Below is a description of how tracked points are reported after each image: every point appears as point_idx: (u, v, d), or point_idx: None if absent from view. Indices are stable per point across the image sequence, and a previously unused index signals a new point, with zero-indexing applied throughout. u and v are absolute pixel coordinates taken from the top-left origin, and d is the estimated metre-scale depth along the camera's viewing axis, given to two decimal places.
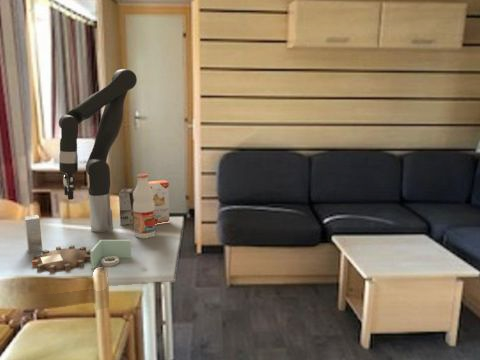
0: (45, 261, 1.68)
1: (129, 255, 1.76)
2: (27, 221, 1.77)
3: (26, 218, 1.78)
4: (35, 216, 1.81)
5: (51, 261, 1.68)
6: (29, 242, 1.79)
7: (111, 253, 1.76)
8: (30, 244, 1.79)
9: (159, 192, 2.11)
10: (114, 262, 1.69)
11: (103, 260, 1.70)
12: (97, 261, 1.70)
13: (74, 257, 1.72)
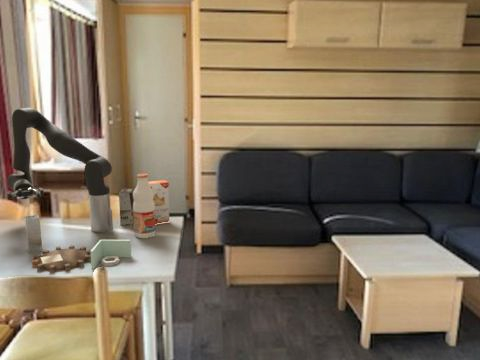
0: (45, 261, 1.68)
1: (129, 255, 1.76)
2: (27, 221, 1.77)
3: (26, 218, 1.78)
4: (35, 216, 1.81)
5: (51, 261, 1.68)
6: (29, 242, 1.79)
7: (111, 253, 1.76)
8: (30, 244, 1.79)
9: (159, 192, 2.11)
10: (114, 262, 1.69)
11: (103, 260, 1.70)
12: (97, 261, 1.70)
13: (74, 257, 1.72)
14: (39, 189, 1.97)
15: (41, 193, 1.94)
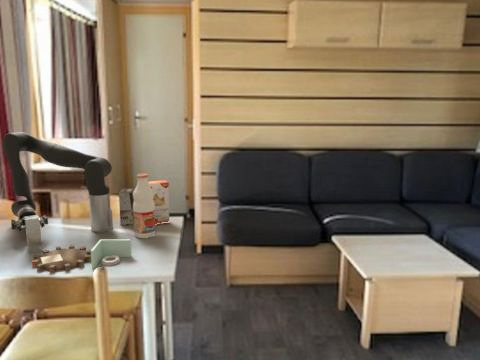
0: (45, 261, 1.68)
1: (129, 254, 1.77)
2: (27, 221, 1.77)
3: (26, 218, 1.78)
4: (35, 216, 1.81)
5: (51, 261, 1.68)
6: (29, 242, 1.79)
7: (112, 252, 1.77)
8: (30, 244, 1.79)
9: (159, 192, 2.11)
10: (114, 261, 1.70)
11: (103, 259, 1.70)
12: (97, 260, 1.71)
13: (74, 257, 1.72)
14: (43, 217, 1.96)
15: (45, 221, 1.93)
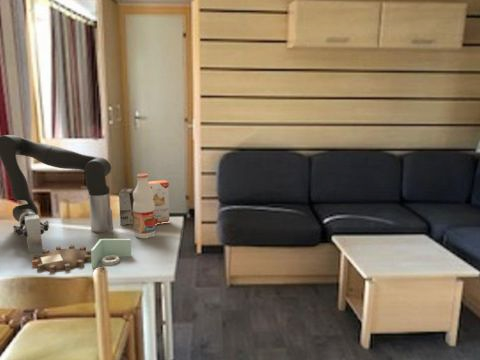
0: (45, 261, 1.68)
1: (129, 254, 1.77)
2: (27, 221, 1.77)
3: (26, 218, 1.78)
4: (35, 216, 1.81)
5: (51, 261, 1.68)
6: (29, 242, 1.79)
7: (112, 252, 1.77)
8: (30, 243, 1.79)
9: (159, 192, 2.11)
10: (114, 261, 1.70)
11: (103, 259, 1.71)
12: (97, 260, 1.71)
13: (74, 257, 1.72)
14: (44, 223, 1.88)
15: (44, 228, 1.85)
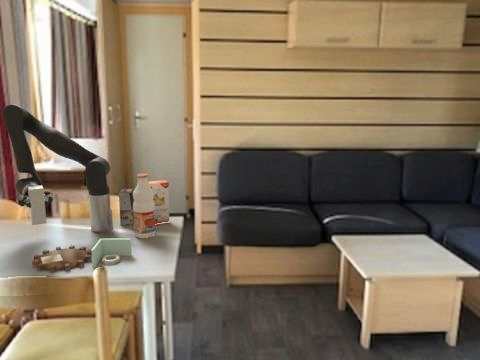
0: (45, 261, 1.68)
1: (129, 253, 1.78)
2: (30, 191, 1.68)
3: (29, 188, 1.69)
4: (39, 186, 1.72)
5: (51, 261, 1.68)
6: (32, 213, 1.70)
7: (112, 252, 1.77)
8: (33, 215, 1.70)
9: (159, 192, 2.11)
10: (115, 260, 1.70)
11: (104, 258, 1.71)
12: (98, 260, 1.71)
13: (74, 257, 1.72)
14: (49, 195, 1.79)
15: (49, 200, 1.76)
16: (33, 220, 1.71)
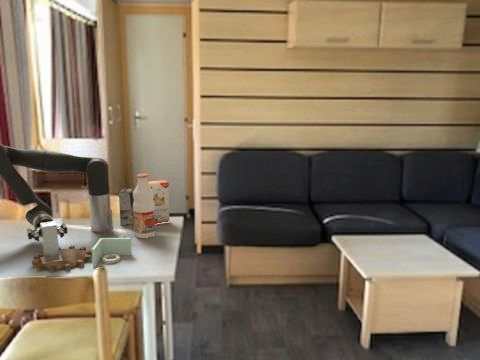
0: None
1: (129, 253, 1.79)
2: (44, 228, 1.64)
3: (42, 225, 1.66)
4: (52, 222, 1.68)
5: (51, 261, 1.68)
6: (46, 251, 1.66)
7: (112, 251, 1.78)
8: (46, 252, 1.67)
9: (159, 192, 2.11)
10: (115, 260, 1.71)
11: (104, 258, 1.72)
12: (98, 259, 1.72)
13: (74, 257, 1.72)
14: (62, 226, 1.76)
15: (64, 231, 1.73)
16: (46, 257, 1.67)
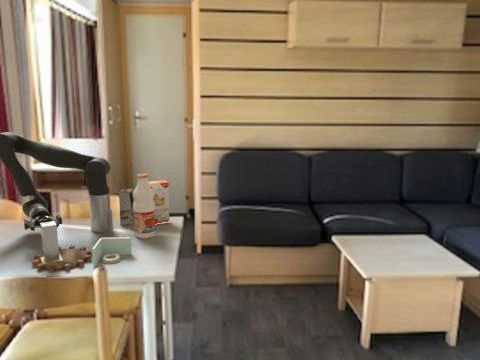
0: None
1: (129, 252, 1.79)
2: (44, 228, 1.64)
3: (42, 225, 1.66)
4: (52, 222, 1.68)
5: (51, 261, 1.68)
6: (45, 251, 1.66)
7: (112, 251, 1.78)
8: (46, 252, 1.67)
9: (159, 192, 2.11)
10: (115, 259, 1.72)
11: (104, 257, 1.72)
12: (98, 259, 1.72)
13: (74, 257, 1.72)
14: (57, 217, 1.87)
15: (59, 221, 1.84)
16: (46, 257, 1.67)
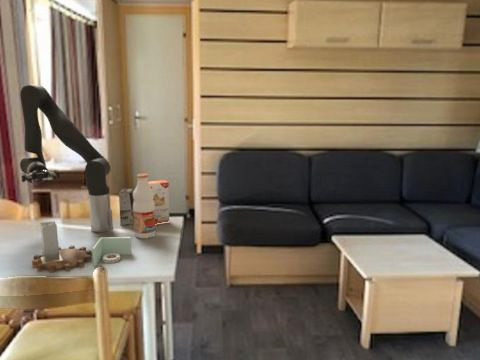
0: None
1: (129, 252, 1.79)
2: (44, 228, 1.64)
3: (42, 225, 1.66)
4: (52, 222, 1.68)
5: (51, 261, 1.68)
6: (45, 251, 1.66)
7: (112, 250, 1.79)
8: (46, 252, 1.67)
9: (159, 192, 2.11)
10: (115, 259, 1.72)
11: (104, 257, 1.73)
12: (98, 258, 1.73)
13: (74, 257, 1.72)
14: (55, 171, 1.85)
15: (57, 175, 1.82)
16: (46, 257, 1.67)
